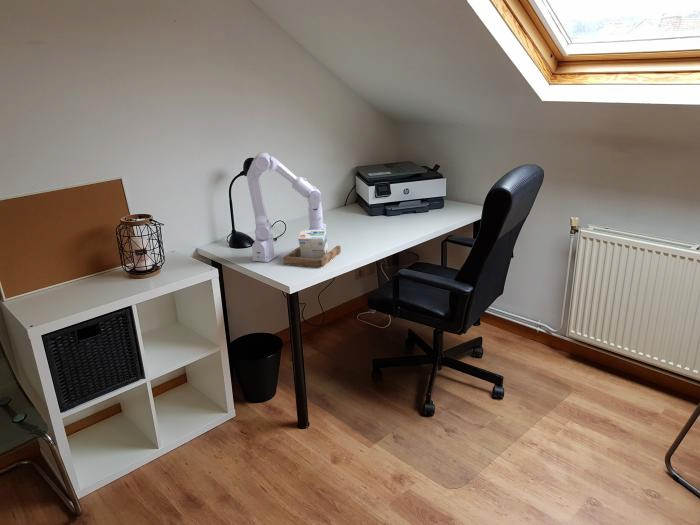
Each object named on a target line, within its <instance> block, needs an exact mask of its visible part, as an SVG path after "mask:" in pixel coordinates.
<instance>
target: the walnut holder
mask: <svg viewBox="0 0 700 525" xmlns="http://www.w3.org/2000/svg"><path fill="white" fill-rule="evenodd" d="M341 247H342V246H341V245H338V244H337V245H336V246H335V247H333V248H332V249H331V250H328V253H327V254H325V255H324V256H323V257H322V258H320V259H311V258H302V257H301V251H300V246H298V247H296V248H295V249H293V250H292V251H291V252H289V253H287V254H285V256H283V257H282V258H283V265H287V264H290V265H289V266H297V265H301V266H300V267H307V266H313V267H312V268H318V267H322V268H324V266H326V265H328V263H329V262H331V261H332V260H333V259H334V258H336V257H337V256H338V255H340V252H341V253H342V250H341V249H342V248H341ZM336 255H337V256H336ZM335 256H336V257H335ZM331 259H332V260H331ZM330 260H331V261H330ZM325 264H326V265H325Z"/></svg>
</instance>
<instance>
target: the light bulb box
mask: <svg viewBox="0 0 700 525" xmlns="http://www.w3.org/2000/svg"><path fill="white" fill-rule="evenodd" d="M326 230H327V229H326ZM326 230H309V229H301V230H300V232H299V235H298V238H297V239H298V245H299V246H300V251H301V255H300V258H311V259H320V258H322V257H323V256H324V255H325V254H327V253H328V252H329V244H328V238H327V232H326ZM307 232H308V233H309V232H311V233H312V232H313V233H312V234H307ZM299 246H298V247H299Z"/></svg>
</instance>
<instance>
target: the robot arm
mask: <svg viewBox="0 0 700 525" xmlns="http://www.w3.org/2000/svg"><path fill="white" fill-rule="evenodd" d="M268 169H269V172H277V173H278V174H279V175H281V176H282V177H283V178H285V179H286V180H287V181H288V182H289V183H291V184H292V185H291V186H292V188H293V189H294V190H295V191H296V192H297V193H298V194H300V195H301V196H302V197H304V198H306V199H307V202H308V219H309V229H308V230H327V223H324V218H323V216H324V215H323V206H322V205H323V204H322V201H323V200H322V199H323V198H322V193H321V191H320V190H319V188H317V187H316V186H315V185H312V184H311V183H310V182H308V180H307V178H306V177H302V176H297V175H295V174H294V173H293V172H291V171H290V169H288V168H287V167H286V165H284V164H283V163H282V162H280V161H279V160H278V159H277V158H276V157H274V156H273V155H270V154H269V152H267V151H261V152H259V153H258V154H257V155H256V156H254V158H253V160H252V161H251V164H250V165H249V169H248V170H247V173H246V180H247V185H248V190H249V194H250V199H251V204H252V209H253V214H254V221H255V222H254V223H255V230H254V235H255V241H254V242H253V244H252V246H251V249H252V250H251V251H252V259H251V261H252V262H263V263H269V262H270V261H272V260H273V259H275V258H277V257H278V256H279V254H278V253H275V248H274V239H273V234H271V231H272V223H271V222H270V221H269V219H268V215H267V213H266V212H267V211H266V206H265V202H264V197H263V192H262V187H261V182H260V177H261V176H262V174H263V173H265V171H267V170H268ZM312 233H313V232H312ZM312 233H311V232H309V233H308V232H307V234H312Z"/></svg>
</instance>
